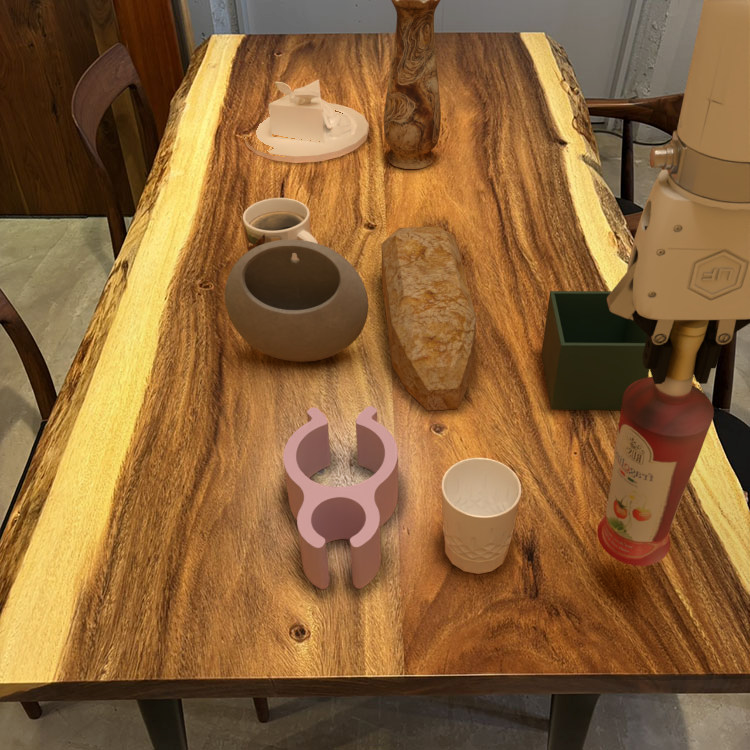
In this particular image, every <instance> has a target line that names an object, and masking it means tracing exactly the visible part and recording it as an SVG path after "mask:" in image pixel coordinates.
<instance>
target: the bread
mask: <svg viewBox="0 0 750 750" xmlns="http://www.w3.org/2000/svg"><path fill="white" fill-rule="evenodd" d="M380 246H381V247H380V248H381V249H380V250H381V286H382V293H383V300H384V301H383V302H384V309H385V316H386V325H387V334H388V341H389V348H390V349H389V351H390V358H391V363H392V364H391V365H392V368H393V369H394V372H395V373H396V374H397V377H398V378H399V380H400V382H401V383H402V386H403V387H404V388H405V390H406V391H407V392H408V394H410V395H411V396H412V397H413V398H414V399H415V400H416V402H418V403H419V404H420V405H421V406H422V408H424V409H425V410H426V411H442V410H443V411H444V410H458V409H459V407H460V405H461V403H462V401H463V399H464V397H465V395H466V392H467V390H468V388H469V386H470V381H471V375H472V371H473V365H474V356H475V341H476V329H477V328H476V327H477V325H476V324H477V315H476V312H475V308H474V304H473V301H472V295H471V293H470V288H469V284H468V281H467V277H466V274H465V269H464V265H463V262H462V258H461V255H460V251H459V246H458V243H457V239H456V238H455V237H454V235H452V233H450V232H448V231H447V230H445V229H443V228H442V227H440V226H438V225H429V226H428V225H427V226H412V227H411V226H409V227H408V226H407V227H398V228H397V229H396V230H394V232H392V233H391V234H390V235H389V236H388V237H387V238H386V239H385V240H384V241H382V242H381V244H380Z"/></svg>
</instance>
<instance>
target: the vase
mask: <svg viewBox="0 0 750 750" xmlns="http://www.w3.org/2000/svg"><path fill="white" fill-rule="evenodd" d="M390 1H391V3H392V5H393V7H394V9H395V11H396V25H395V32H394V33H395V34H394V40H393V41H394V42H393V49H392V57H391V64H390V69H389V70H390V71H389V75H388V76H389V77H388V81H387V82H388V83H387V89H386V96H385V103H384V109H383V110H384V112H383V132H384V139H385V143H386V144H387V146H388V148H389V149H390V152H389V154H388V156H387V161H388V162H389V163H390V165H392V166H394V167H396V168H400V169H406V170H418V169H419V170H420V169H423V168H427V167H429V166H431V165H432V164H433V163H434V162H435V155H434V153H433V150H434V149H435V148H436V146H437V144H438V142H439V139H440V134H441V124H442V123H441V120H442V109H441V97H440V86H439V85H440V84H439V73H438V65H437V64H438V63H437V55H436V54H437V53H436V39H435V12H436V10H437V7H438V5H440V2H441V0H390Z"/></svg>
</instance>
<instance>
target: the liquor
mask: <svg viewBox="0 0 750 750" xmlns="http://www.w3.org/2000/svg"><path fill="white" fill-rule="evenodd" d="M708 322H709V320H674V323H673V326H672V329H671V332H670V339H671V342H672V345H673V350H672V354H671V358H670V362H669V366H668V370H667V374H666V378H665V382H663V383H662V384H654V381H653V378H652V376H648V377H647V378H643V379H640V380H638V381H635V382H634V383H632V384H631V385H630V386H629V387H628V388H627V389H626V390H625V392H624V394H623V399H622V406H621V410H620V412H619V413H620V415H619V421H618V427H617V434H616V439H615V447H614V455H613V463H612V472H611V479H610V485H609V491H608V497H607V504H606V509H605V513H604V516H603V517H602V519H601V520H600V521H599V522H598V525H597V529H596V534H597V539H598V542H599V544H600V546H601V547H602V549H603V550H604V551H605V552H606V553H607V554H608V555H609V556H610V557H611V558H613V559H615V560H616V561H618V562H619V563H622V564H625V565H630V566H634V567H635V566H636V567H648V566H652V565H655V564H657V563H659V562H661V561H662V560H663V559H665V558H666V557H667V555H668V554H669V552H670V549H671V538H670V533H671V529H672V527H673V524H674V520H675V518H676V515H677V512H678V509H679V507H680V504H681V501H682V499H683V496H684V494H685V491H686V488H687V486H688V483H689V481H690V479H691V477H692V473H693V471H694V469H695V467H696V464H697V462H698V459H699V457H700V455H701V451H702V449H703V446H704V443H705V440H706V438H707V435H708V432H709V429H710V428H711V424H712V422H713V419H714V415H715V410H714V406H713V403H712V402H711V399H710V398H709V397H708V396H707V395H706V393H705V392H703V391H702V390H701V389H700V388H698V387H696V386H695V385H693V382H694V381H693V380H694V368H695V362H696V356H697V352H698V350H699V348H700V346H701V344H702V342H703V340H704V337H705V333H706V329H707V326H708Z"/></svg>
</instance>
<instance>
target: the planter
mask: <svg viewBox="0 0 750 750" xmlns="http://www.w3.org/2000/svg"><path fill="white" fill-rule="evenodd" d="M292 253H296V254H297V258H298V259H299V260H293V259H291V258H292V255H293V254H292ZM224 288H225V289H224V290H225V291H224V303H225V308H226V312H227V315H228V318H229V320H230V322H231V324H232V325H233V327H234V329H235V330H236V332H237V333H238V334H239V336H240V337H241V338H242V339H243V340H244V341H245V342H247V343H248V344H249V346H250V345H251V347H253V348H254V349H256V350H257V351H259V352H261V353H263V354H265V355H267V356H269V357H272V358H276V359H279V360H283V361H289V362H296V363H297V362H299V363H303V362H304V363H306V362H307V363H308V362H316V361H320V360H325V359H328V358H331V357H333V356H335V355H337V354H340V353H341V352H343V351H345V350H346V349H347V348H348V347H350V346H352V344H353V343H354V342H355V341H356V340H357V339H358V338H359V336H360V335H361V333H362V332H363V330H364V327H365V325H366V323H367V319H368V313H369V298H368V293H367V290H366V286H365V284H364V281H363V279H362V277H361V276H360V274H359V272H358V271H357V269H356V268H355V267H354V266H353V265H352V264H351V262H349V260H348V259H346V258H345V256H343V255H342V254H340V253H338V252H337V251H335V250H334V249H333V248H330V247H328V246H326V245H323V244H320V243H318V244H317V243H314V242H309V241H304V240H278V241H273V242H268V243H265V244H262V245H259V246H257V247H255V248H253V249H251V250H250V251H248V252H247V251H246V252H245V253H244V254H243V255H242V256H241V257H240V258H239V259H238V260H237V261H236V262H235V264H233V267H232V269H231V270H230V272H229V274H228V277H227V279H226V284H225V287H224Z"/></svg>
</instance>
